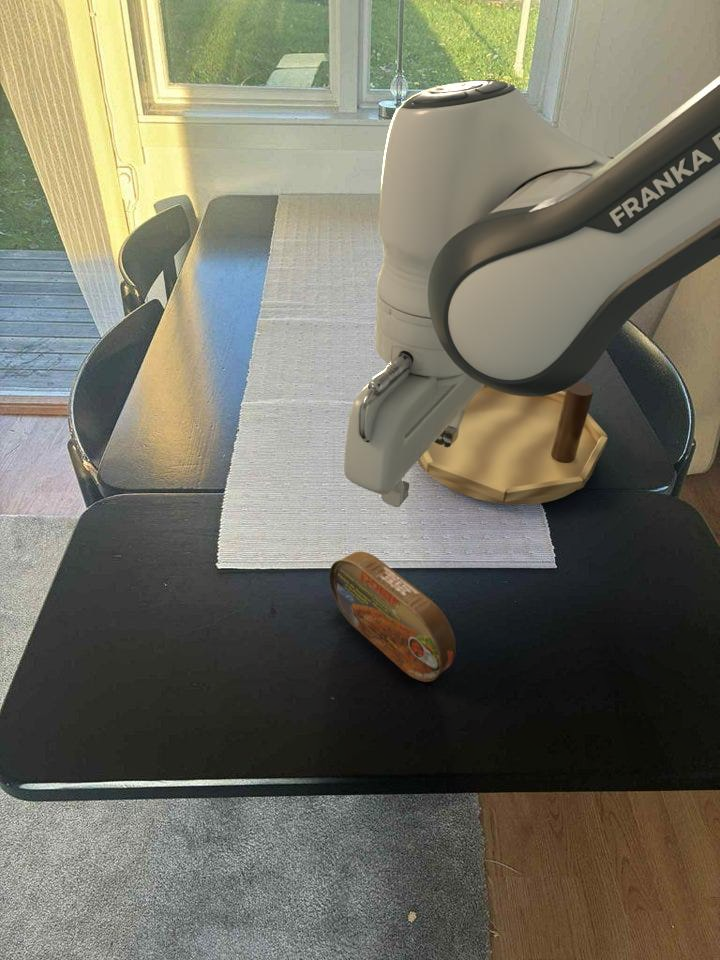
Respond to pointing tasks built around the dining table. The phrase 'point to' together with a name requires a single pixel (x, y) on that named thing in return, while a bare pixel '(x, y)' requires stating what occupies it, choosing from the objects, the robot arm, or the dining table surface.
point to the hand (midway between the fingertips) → (421, 469)
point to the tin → (393, 615)
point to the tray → (520, 447)
